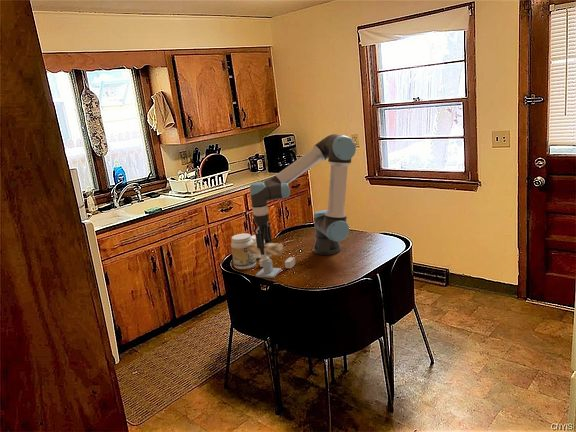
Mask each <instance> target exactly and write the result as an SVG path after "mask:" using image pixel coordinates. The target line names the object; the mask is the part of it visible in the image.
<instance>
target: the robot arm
mask: <svg viewBox="0 0 576 432" xmlns="http://www.w3.org/2000/svg"><path fill="white" fill-rule="evenodd" d="M356 151H357V146H356V143H355V141H354V140H353V139H352V138H351V137H349V136H347V135H342V134H337V133H335V134H334V133H333V134H330V135H327V136H325V137H324V138H322V139H321V140H320V141H318V142H316V144H314V145H313V147H312V149H310V150H309V151H308V152H306V153H305V154H304V155H302V156H301V157H299V158H298V159H296V160H294V161H293V162H292V163H291V164H289V165H288V166H286V167H285V168H283V169H282V170H281V171H279V172H278V173H277V174H276V175H274V176H272V177H271V178H267V179H265V180H264V181H262V182H261V181H260V182H253V183H251V184H250V185H249V194H250V200H251V202H250V203H251V207H252V208H251V209H252V214H253V216H252V217H253V223H255V224H256V229H254V230H253V232H254V235H256V243H257V248H260V253H261V258H260V259H261V260H267V256H268V257H272V255H266V249H265V248H264V240H265V243H273V242H272V231H271V230H272V229H271V222H270V218H269V217H270V216H269V208H268V202H270V201H275V200H281V199H282V200H283V199H286V198H289V197H290V195H291V189H290V186H289V184H290V183H292V182H293V181H294V180H296V179H297V178H299V177H300V176H301V175H303V174H304V173H305V172H307V171H309V170H310V169H311V168H312V167H314V166H316V165H317V164H318V163H320V162H323V161H324V162H325V160H327V161H328V163H329V164H330V173H329V188H328V200H327V201H328V202H327V209H323V210H317V211H315V212H314V213H313V224H314V234H315V241H314V245H313V252H314V253H315V254H316V255H320V256H329V255H334V254H337V253H339V252H340V251H342V246H341V243H340V242H341V241H343V240H345V239H346V238H347V237H348V235H349V233H350V226H349V224H348V223H347V218H348V217H347V216H348V215H347V213H345V206H346V193H347V192H346V191H347V181H348V170H349V169H348V168H349V166H350V165H351V164H352V158H353V157H354V156H355V154H356Z"/></svg>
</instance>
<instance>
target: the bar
mask: <svg viewBox="0 0 576 432" xmlns="http://www.w3.org/2000/svg"><path fill="white" fill-rule="evenodd" d="M264 248H265V249H266V255H271V256H281V255H282V254H283V253H284V245H283V243H276V242H272V243H264ZM247 250H248V254H261V253H260V248H257V243H255V242H251V243H249V244H248V245H247Z"/></svg>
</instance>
